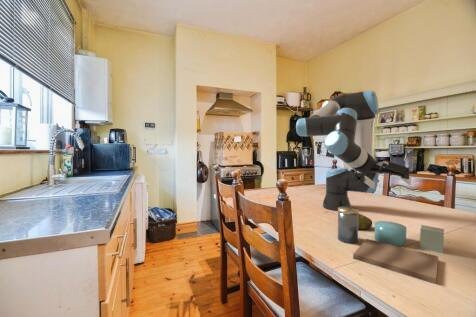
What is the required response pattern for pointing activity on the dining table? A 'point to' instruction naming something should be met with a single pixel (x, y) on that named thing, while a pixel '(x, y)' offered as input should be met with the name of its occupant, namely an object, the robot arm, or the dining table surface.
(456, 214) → the dining table surface
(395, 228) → the teal domed cylinder
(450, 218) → the dining table surface
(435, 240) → the sage box
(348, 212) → the tea tin
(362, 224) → the potato
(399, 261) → the walnut board
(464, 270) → the dining table surface
